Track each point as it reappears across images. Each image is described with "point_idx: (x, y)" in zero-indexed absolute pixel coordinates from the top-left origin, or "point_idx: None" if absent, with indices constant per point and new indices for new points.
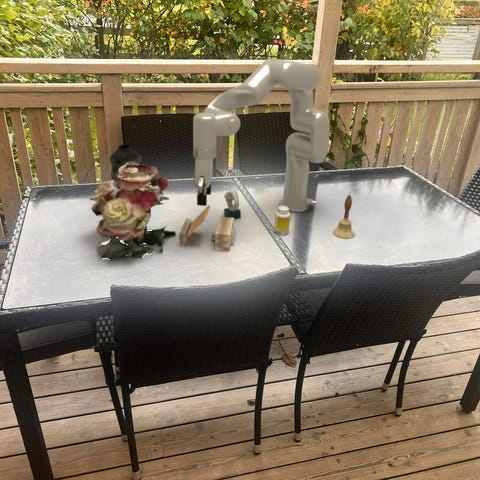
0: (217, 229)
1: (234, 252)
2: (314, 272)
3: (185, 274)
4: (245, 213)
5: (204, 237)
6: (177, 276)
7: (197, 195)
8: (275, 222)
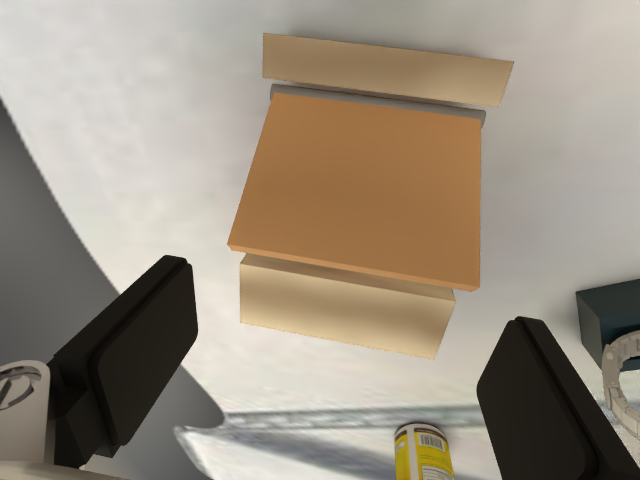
0: (290, 275)
1: None
2: (194, 444)
3: (53, 100)
4: None
5: None
6: (25, 63)
7: (74, 344)
8: (419, 465)
